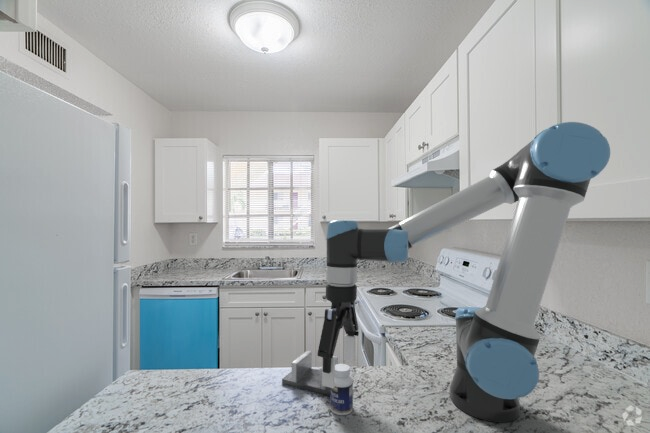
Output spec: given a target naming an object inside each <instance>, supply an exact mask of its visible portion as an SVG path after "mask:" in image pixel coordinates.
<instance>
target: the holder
mask: <svg viewBox="0 0 650 433" xmlns="http://www.w3.org/2000/svg"><path fill="white" fill-rule="evenodd" d="M312 353H313V352H312V350H306V351H304V352H303V353H301V355H300V356H298V357H296V359H294V360H293V361H292V362H291V371H290V372H289V373H287V374H286V375H285V376H284V377H282V380H281V385H282V386H286V387H291V388H292V389H293V388H294V389H298V390H303V391H306V392H310V393H313V394H316V395H321V396H325V397H329V398H330V387H326V386H322V366H321V367H319V369H316V368H312V363H313V361H312ZM334 356H335V365H336V364H339V356H337V355H334Z"/></svg>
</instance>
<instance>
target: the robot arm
mask: <svg viewBox="0 0 650 433" xmlns="http://www.w3.org/2000/svg"><path fill="white" fill-rule="evenodd" d="M610 158H611V148H610V144H609V141H608V139H607V138H606V136H604V135H603V134H602V132H601V131H600V130H599V129H597V128H595V127H594V126H592V125H589V124H588V123H583V122H577V121H566V122H561V123H557V124H554V125H551V126H550V127H548V128H545V129H543V130H542V131H540V132H539V133H537V135H536V136H535V137H534V138H533V139H532V140H531V141H529V142H528V143H527V144H526V145H525V146H524V147H522V148H521V149H520V150H519V151H517V152H516V153H515V154H514V155H513V156H511V158H509V159H508V160H506V161H505V162H503V163H502V164H500V165H499V166H497V167H495V168H493V169H491V170H490V171H489V174H488V175H487V177H484V178H482V179H481V180H480V181H477V182H475V183H474V184H471V185H470V186H467V187H465V188H463V189H462V190H460V191H458V192H456V193H454V194H452V195H450V196H448V197H447V198H443V199H442V200H440V201H439V202H437V203H435V204H433V205H431V206H428V207H427V208H425V209H423V210H421V211H419V212H417V213H415V214H413V215H411V216H409V217H408V218H406V219H404V220H402V221H400V222H398V223H396V224H393V225H392V226H390V227H387V228H386V229H384V228H374V229H372V228H371V229H370V228H369V229H367V228H365V229H364V228H359V226H358V225H359V224H358V222H357V221H356V220H344V219H343V220H342V219H341V220H339V219H338V220H336V219H334V220H330V221H329V222H328V224H327V232H326V239H325V241H326V268H325V270H324V272H325V273H326V274H325V275H326V276H325V277H326V279H325V281H326V282H327V283H326V284H325V299H326V300H327V301H328V302H330V303H331V307H330V308H325V310H324V319H323V324H322V330H321V335H320V339H319V343H318V349H317V354H316V355H317V357H320V358H322V363H321V364H322V365H321V367H322V386H326V387H330V388H334V387H335V356H336V355H334V354H335V350H336V346H337V342H338V339H339V335H340V332H341V329H344V332H345V334H344V339H343V340H344V342H343V343H344V344H343V348H344V349H343V362H348V363H351V364H352V363H353V364H354V363H355V362H356V361H355V360H356V358H355V357H356V349H355V348H356V337H358V336H359V333H360V332H359V331H358V330H359V326H358V317H357V312H356V306H355V303H356V301H357V298H358V297H357V295H358V293H357V289H358V288H357V287H358V286H357V285H356V283H357V282H358V260H359V261H372V262H373V261H375V262H390V263H405V262H407V261H408V258H409V250H410V249H411V248H413V247H415V246H418V245H420V244H421V243H424V242H426V241H428V240H430V239H432V238H435V237H436V236H438V235H441V234H442V233H444V232H446V231H449V230H451V229H453V228H455V227H457V226H460V225H462V224H463V223H465V222H467V221H469V220H471V219H474V218H476V217H478V216H480V215H482V214H484V213H486V212H488V211H490V210H492V209H494V208H496V207H498V206H501V205H503V204H505V203H506V204H509V205H512V204H515V203H517V204H516V206H515V210H514V213H513V217H512V219H511V223H510V226H509V229H508V233H507V235H506V236H507V237H506V239H505V242H504V246H503V249H502V252H501V255H500V258H499V262H498V264H497V269H496V272H495V275H494V278H493V280H492V281H493V282H492V284H491V288H490V291H489V293H488V294H489V295H488V297H487V301H486V304H485V306H484V307H477V306H460V307H458V308H457V309H456V311H455V317H454V320H455V326H456V327H455V332H456V333H455V334H456V336H455V339H456V343H455V344H456V368H455V370H454V374H453V377H452V379H451V383H450V385H449V398H450V400H451V402H452V404H454V405H455V406H456V407H457V408H458V409H459V410H461V411H462V412H464V413H465V414H467V415H470V416H472V417H475V418H476V419H480V420H483V421H488V422H492V423H493V422H494V423H510V422H514V421H516V420H518V419H519V417H520V416H521V404H520V399H519V398H524V397H526V396H528V395H529V394H531V393H532V392H533V391H534V390H535V389H536V387H537V386H538V383H539V379H540V368H539V364H538V361H537V359H536V358H535V356H536V352H537V349H538V345H539V343H540V342H539V341H540V339H541V335H540V333H539V331H537V330H538V329H536V326H535V322H536V318H537V315H538V311H539V309H540V305H541V302H542V300H543V296H544V293H545V291H546V287H547V284H548V280H549V277H550V274H551V271H552V267H553V265H554V263H555V259H556V255H557V251H558V249H559V245H560V243H561V239H562V236H563V233H564V230H565V226H566V223H567V220H568V217H569V215H570V211H571V208H573V207H575V206H576V205H578V204H580V203H582V202H584V200H585V197H586V194H587V191H588V189H589V187H590V186H589V185H590V183H591V182H590V181H591V179H594V178H595V177H597V176H599V175H600V173H601V172H602V171H603V170H604V169H605V168H606V167H607V165H608V163H609V160H610Z"/></svg>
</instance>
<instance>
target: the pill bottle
mask: <svg viewBox="0 0 650 433" xmlns="http://www.w3.org/2000/svg"><path fill="white" fill-rule="evenodd" d="M353 382H354V380H353V377H352V375H351V367H350V366H349V365H348V364H346V363H338V364H336V365H335V387H334V388H330V397H329V398H330V399H329V402H330V403H329V408H330V411H331V412H332V413H333V414H335V415H337V416H347V415H349V414H351V413H352V411H353V408H354V405H353V404H354V402H353V398H354V396H353V395H354V390H353V389H354V388H353V387H354V386H353V385H354V383H353Z"/></svg>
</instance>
